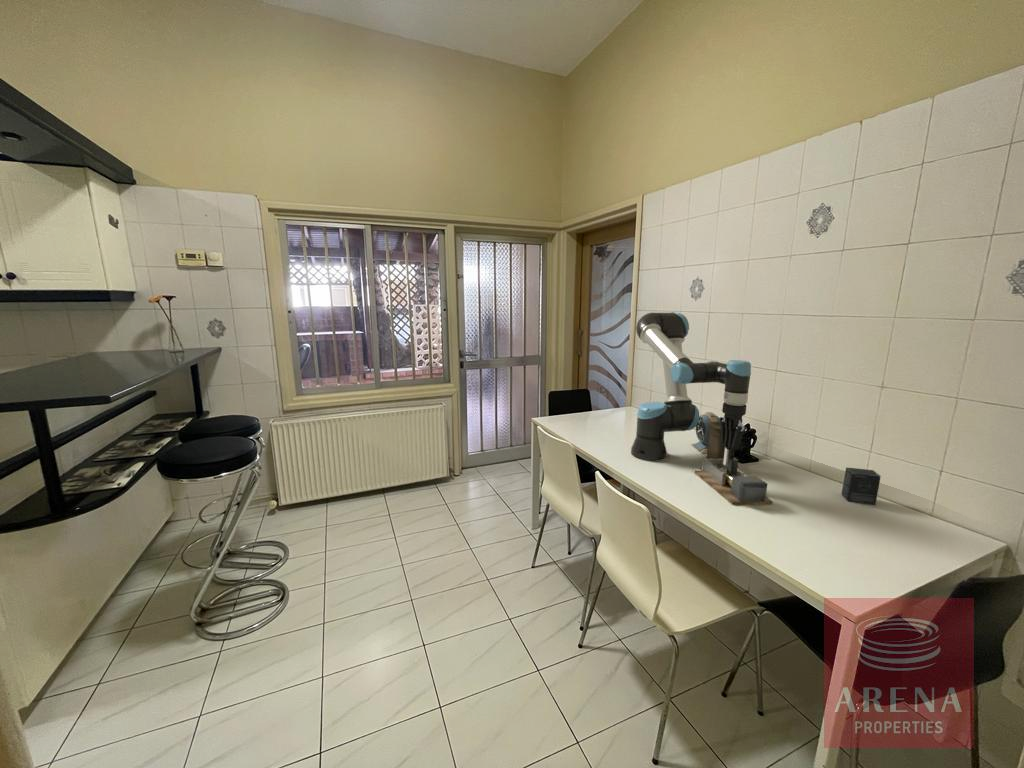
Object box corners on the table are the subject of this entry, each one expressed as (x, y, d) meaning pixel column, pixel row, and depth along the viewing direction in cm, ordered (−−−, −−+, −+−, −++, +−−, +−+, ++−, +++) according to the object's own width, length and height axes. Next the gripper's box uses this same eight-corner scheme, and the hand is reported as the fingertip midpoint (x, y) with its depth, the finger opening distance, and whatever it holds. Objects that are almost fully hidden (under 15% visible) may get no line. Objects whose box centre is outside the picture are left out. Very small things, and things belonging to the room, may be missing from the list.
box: (867, 498, 140) (873, 469, 138) (875, 505, 135) (881, 476, 133) (840, 494, 143) (845, 466, 141) (847, 501, 138) (852, 472, 136)
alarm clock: (690, 443, 194) (693, 408, 191) (710, 444, 194) (714, 408, 190) (702, 454, 180) (706, 416, 177) (724, 455, 180) (729, 417, 176)
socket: (730, 493, 141) (732, 476, 140) (753, 493, 141) (756, 476, 140) (740, 501, 135) (742, 483, 134) (765, 501, 135) (767, 483, 134)
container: (706, 468, 165) (710, 426, 162) (703, 460, 174) (707, 420, 170) (730, 471, 162) (735, 428, 159) (726, 463, 171) (731, 422, 167)
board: (694, 472, 161) (694, 470, 160) (728, 472, 161) (728, 470, 161) (732, 504, 135) (732, 502, 135) (772, 504, 136) (772, 501, 136)
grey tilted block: (702, 470, 160) (703, 458, 159) (721, 470, 161) (722, 458, 160) (721, 486, 147) (723, 473, 146) (742, 485, 147) (744, 472, 146)
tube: (716, 477, 154) (718, 452, 152) (726, 477, 154) (729, 452, 152) (737, 494, 140) (741, 467, 138) (748, 494, 140) (752, 467, 138)
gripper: (714, 399, 151) (708, 458, 156) (735, 407, 139) (728, 471, 143) (734, 399, 152) (727, 457, 156) (756, 407, 139) (748, 471, 143)
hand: (727, 464), depth 150 cm, fingers closed
